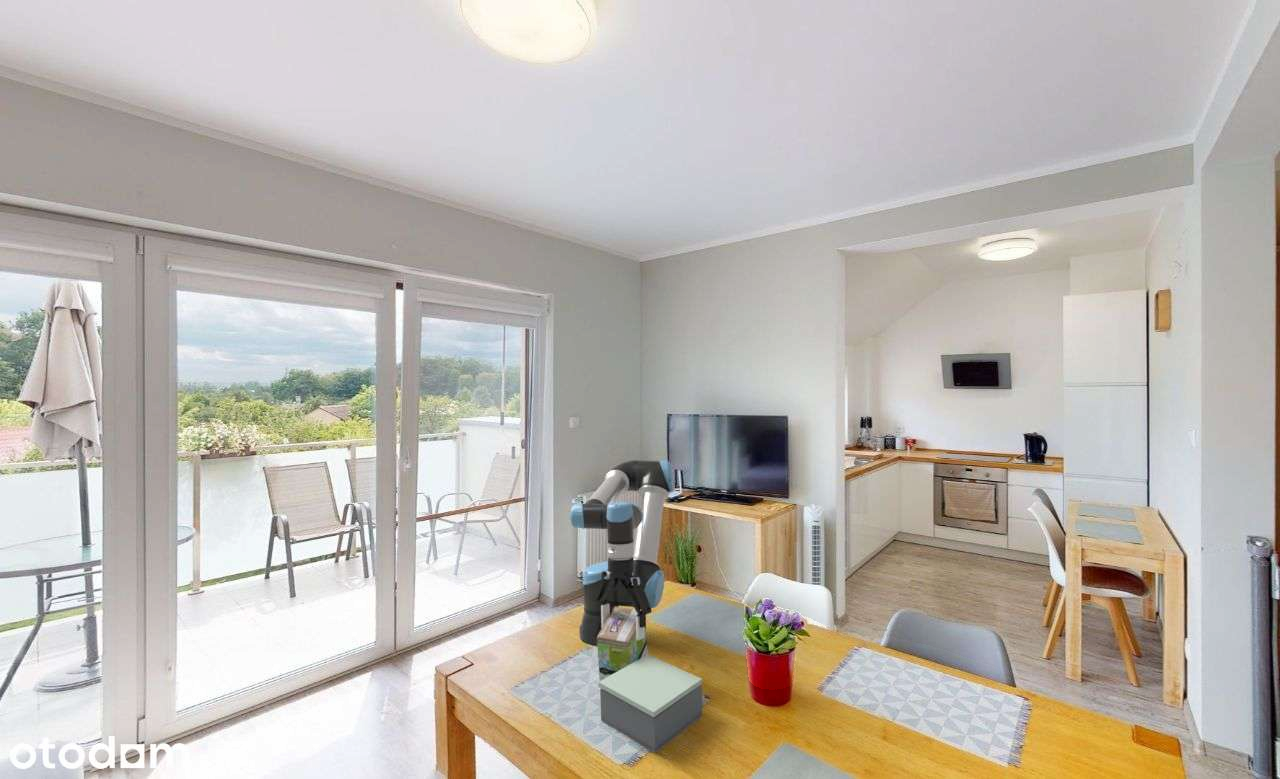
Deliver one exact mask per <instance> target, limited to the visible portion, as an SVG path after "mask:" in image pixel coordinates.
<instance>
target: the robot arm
mask: <svg viewBox="0 0 1280 779" xmlns="http://www.w3.org/2000/svg"><path fill="white" fill-rule="evenodd" d="M674 478H675V477H674V468H673V465H672V463H671V462H670V461H667V460H637V459H635V460H634V459H633V460H628V461H625V462H622V463H619V464H618V465H616V466H614V467H613V468H612V469H610V470H609V471H608V472H607V473H606V475H605V477H604V481H603V482H602V483H601V484H600V486H599V487H598V488H597V489H596V491H594V493H592V495H591V496H589V499H588V500H587V501H586V502H585V503H582V502H581V503H575V504H573V505H572V506H571V510H570V515H569V516H570V518H569V520H570V524H571V526H572V527H574V528H579V529H583V530H585V529H589V530H590V529H594V530H606V531H607V532H606V533H607V557H609V558H608V559H607V561H601V562H596V563H594V564H591V565H589V566H587V567H586V568H585V570H584V571H583V578H582V579H583V580H582V586H583V587H582V591H583V616H582V619H581V624H580V626H579V630H578V632H579V634H578V635H579V639H580V640H581V641H582V642H584V643H585V644H586V643H587V644H589V645H594V646H597V636H598V634H599V632H600V631H601V629H602V627H603V626H604V624H605V622H606V621H607V619H608V617H609V616H610V614H611V612H612V611H613V609H614V607H625V608H634V609H635V610H636V612H637V614H638V615H636V640H641V639H643V638H645V626H646V627H647V615H648V614H650V613H652V611H653V610H652V609H655V608H657V607H658V606H659V604H660V603H661V600H662V597H663V594H664V589H665V588H664V587H665V579H666V578H665V573H664V572H663V571H662V570H661V565H660V564H659V563H658V554H659V546H660V538H661V529H662V522H663V521H662V520H663V512H664V506H665V504H664V502H665V501H666V500H667V499H668V498H669V495H670V493H674V491H675V479H674ZM626 492H637V494H638V496H639V497H640V501H639V502H640V503H639V505H638V504H635V503H630V501H629V502H627V501H617V499H619V497H620V496H621V495H622V494H625V493H626ZM634 530H635V536H634Z"/></svg>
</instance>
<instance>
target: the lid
mask: <svg viewBox="0 0 1280 779" xmlns="http://www.w3.org/2000/svg"><path fill="white" fill-rule="evenodd" d="M597 684H598V688H600V689H603V690H605V691H607V692H609V693H610V694H612V695H614V696H616V697H618V698H619V699H621V700H623V701H625V702H627V703H628V704H630V705H632V706H634V707H636V708H637V709H639V710H641V711H643V712H645V713H646V714H648V715H650V716H652V717H655V716H657V715H658V714H660V713H661V712H662V711H664V710H665V709H667V708H668V707H670V706H671V705H672V704H674V703H675V702H677V701H678V700H680V699H681V698H682V697H684V696H685V695H687V694H688V693H690V692H691V691H692V690H694V689H695V688H697V687H698V686H700V685H701V684H702V685H703V678H701V677H700V676H697V675H694V674H692V673H690V672H687V671H685V670H683V669H681V668H679V667H677V666H674V665H672V664H670V663H667V662H666V661H664V660H661V659H659V658H657V657H654V656H652V655H650V654H647V655H646V656H644V657H642V658H641V659H639V660H637V661H635V662H633V663H632V664H630V665H628V666H626V667H624V668H623V669H621V670H619V671H617V672H616V673H614V674H612V675H610V676H608V677H607V678H605V679H603V680H601V681H600V680H599V681H598V683H597Z"/></svg>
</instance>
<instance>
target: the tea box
mask: <svg viewBox="0 0 1280 779" xmlns="http://www.w3.org/2000/svg"><path fill="white" fill-rule="evenodd" d="M636 615H638V614H637V612H636V610H635V608H634V609H633V608H629V607H622V606H619V607H614V609H613V611H612V612H611V614H610V616H609V617H608V619H607V621H606V622H605V624H604V626H603V627H602V629H601V631H600V632H599V634H598V636H597V645H596V647H597V648H596V649H597V660H598V671H599V672H598V673H599V674H598V675H599V676H598V677H599V681H601V680H603V679H605V678H607V677H608V676H610V675H612V674H614V673H616V672H617V671H619V670H621V669H623V668H624V667H626V666H628V665H630V664H632V663H633V662H635V661H637V660H639V659H641V658H642V657H644V656H646V655H648V641H647V640H648V638H647V625H646V626H645V638H643V639H641V640H636Z"/></svg>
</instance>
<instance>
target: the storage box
mask: <svg viewBox="0 0 1280 779" xmlns="http://www.w3.org/2000/svg"><path fill="white" fill-rule="evenodd" d="M702 686H703V683H702V684H701V685H700V686H698V687H697V688H695V689H694V690H692V691H691V692H690V693H688V694H687V695H685V696H684V697H682V698H681V699H680V700H678V701H677V702H675V703H674V704H672V705H671V706H670V707H668V708H667V709H665V710H664V711H662V712H661V713H660V714H658V715H657V716H655V717H652V716H650V715H648V714H646V713H645V712H643V711H641V710H639V709H637V708H636V707H634V706H632V705H630V704H628V703H627V702H625V701H623V700H621V699H619V698H618V697H616V696H614V695H612V694H610V693H609V692H607V691H605V690H603V689H601V688H600V690H599V691H600V698H599V699H600V721H601V722H603V723H605V724H606V725H608V726H609V727H611V728H612V727H613V729H614V730H616V731H618V732H619V733H621V734H622V735H623V736H625V737H627V738H629V739H630V740H632V741H633V742H635V743H636V744H639V745H640V746H641V747H643V748H645V749H646V748H647V750H648V751H649V752H651V753H652V754H657V753H658V752H659V751H660V750H662V749H663V748H664V747H666V745H668V744H670V742H672V741H673V740H675V738H676V737H678V736H679V735H680V734H681V733H682V732H684V731H685V730H686V729H688V728H689V727H690V726H691V725H693V724H694V723H695V722H697V721H698V720H699V719H700V718H701V717H703V694H702V693H703V692H702V690H703V688H702Z"/></svg>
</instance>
